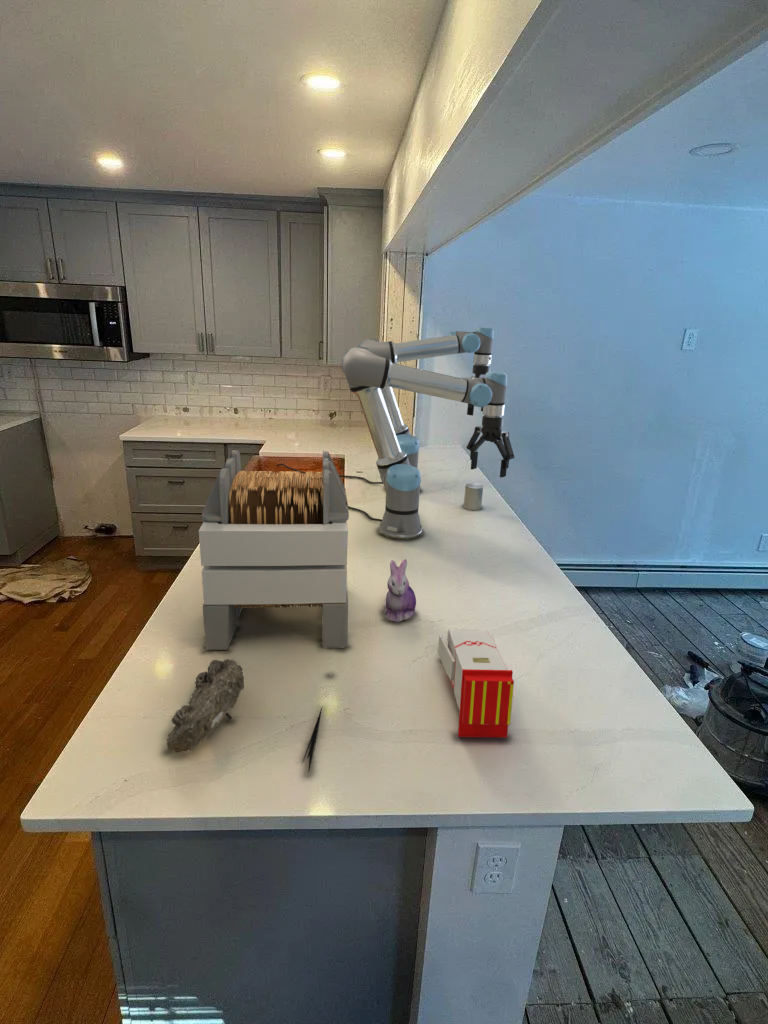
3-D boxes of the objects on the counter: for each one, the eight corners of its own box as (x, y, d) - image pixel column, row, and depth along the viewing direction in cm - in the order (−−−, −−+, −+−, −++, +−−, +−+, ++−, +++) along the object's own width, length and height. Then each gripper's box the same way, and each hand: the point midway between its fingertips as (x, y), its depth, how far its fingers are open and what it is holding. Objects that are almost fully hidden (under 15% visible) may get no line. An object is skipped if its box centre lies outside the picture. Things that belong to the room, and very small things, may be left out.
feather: (331, 679, 122) (336, 673, 122) (307, 777, 96) (313, 769, 95) (324, 675, 122) (329, 669, 121) (298, 772, 95) (304, 764, 95)
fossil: (192, 660, 117) (244, 628, 112) (224, 691, 120) (276, 661, 115) (142, 746, 98) (202, 712, 93) (182, 779, 101) (242, 748, 96)
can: (461, 504, 233) (463, 483, 230) (477, 504, 234) (479, 483, 231) (466, 510, 227) (468, 488, 224) (483, 510, 228) (485, 488, 225)
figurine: (392, 627, 141) (395, 572, 136) (374, 608, 149) (376, 556, 144) (425, 619, 145) (429, 566, 140) (405, 601, 154) (408, 550, 149)
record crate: (226, 583, 159) (217, 441, 145) (342, 582, 163) (345, 443, 149) (203, 652, 127) (189, 478, 114) (348, 648, 131) (352, 480, 117)
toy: (488, 613, 130) (523, 677, 101) (484, 667, 133) (517, 744, 104) (435, 612, 130) (455, 676, 101) (432, 666, 133) (451, 743, 103)
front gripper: (528, 420, 198) (521, 478, 206) (472, 410, 215) (468, 464, 223) (515, 422, 194) (509, 482, 201) (459, 412, 211) (455, 467, 218)
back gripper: (476, 367, 235) (471, 417, 243) (501, 364, 255) (496, 411, 262) (460, 365, 240) (456, 415, 247) (486, 362, 259) (481, 409, 266)
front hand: (487, 472), depth 212 cm, fingers open, 13 cm apart
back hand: (477, 413), depth 254 cm, fingers open, 13 cm apart
